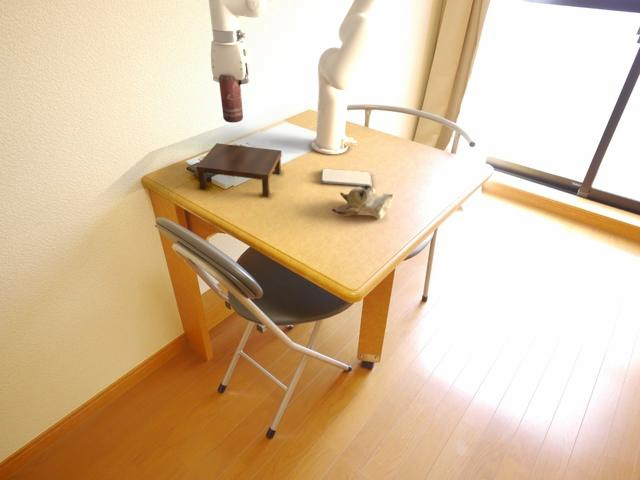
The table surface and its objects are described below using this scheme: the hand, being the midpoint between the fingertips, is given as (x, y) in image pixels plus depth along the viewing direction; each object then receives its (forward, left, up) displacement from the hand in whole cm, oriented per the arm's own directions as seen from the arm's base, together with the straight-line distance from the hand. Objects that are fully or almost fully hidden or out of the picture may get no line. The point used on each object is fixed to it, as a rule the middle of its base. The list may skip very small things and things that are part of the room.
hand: (233, 101), depth 125 cm
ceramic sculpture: (-44, +28, -17) cm, 54 cm away
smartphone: (-37, +10, -17) cm, 42 cm away
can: (0, 0, -6) cm, 6 cm away
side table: (-8, +18, -16) cm, 26 cm away
